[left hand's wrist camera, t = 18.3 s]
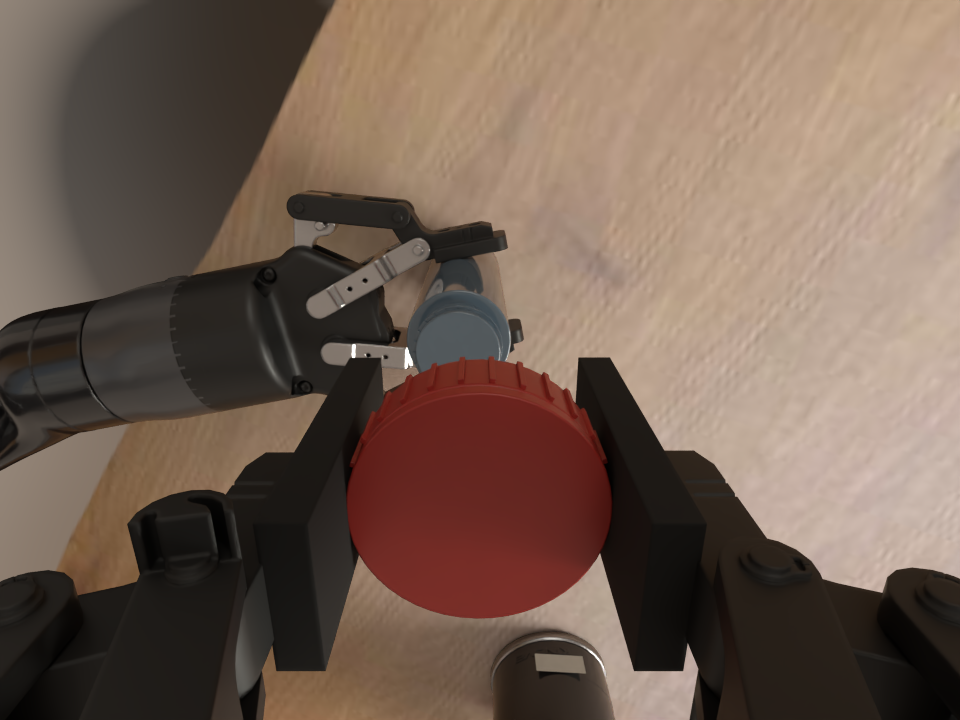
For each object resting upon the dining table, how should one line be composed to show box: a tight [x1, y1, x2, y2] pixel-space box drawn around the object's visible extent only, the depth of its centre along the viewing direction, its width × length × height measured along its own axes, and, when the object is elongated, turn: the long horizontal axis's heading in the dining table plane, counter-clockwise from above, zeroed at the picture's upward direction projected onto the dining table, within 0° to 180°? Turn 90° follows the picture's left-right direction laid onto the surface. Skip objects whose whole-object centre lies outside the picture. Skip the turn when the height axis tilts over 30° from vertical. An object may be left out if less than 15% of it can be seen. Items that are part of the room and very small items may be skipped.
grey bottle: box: [407, 252, 511, 373], centre depth 30 cm, size 4×4×15 cm
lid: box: [346, 356, 613, 618], centre depth 11 cm, size 5×5×2 cm
